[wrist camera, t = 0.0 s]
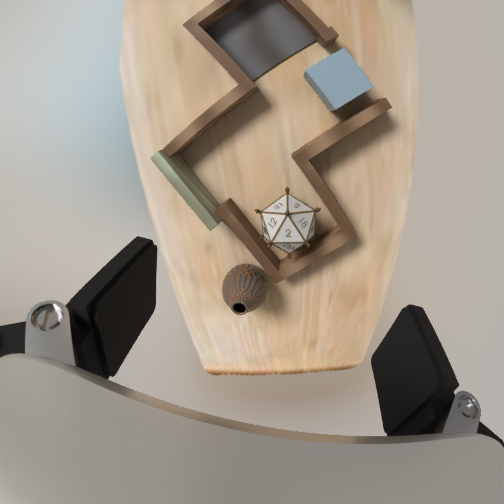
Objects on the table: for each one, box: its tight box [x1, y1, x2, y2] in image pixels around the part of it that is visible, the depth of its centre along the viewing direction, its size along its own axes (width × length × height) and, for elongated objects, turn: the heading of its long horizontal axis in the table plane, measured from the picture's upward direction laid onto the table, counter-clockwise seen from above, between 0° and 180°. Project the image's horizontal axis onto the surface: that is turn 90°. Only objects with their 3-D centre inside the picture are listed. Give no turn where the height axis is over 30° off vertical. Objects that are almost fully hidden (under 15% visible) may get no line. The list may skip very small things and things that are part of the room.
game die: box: [255, 187, 321, 260], centre depth 37 cm, size 9×8×10 cm
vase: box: [222, 264, 267, 315], centre depth 42 cm, size 7×7×9 cm
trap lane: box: [150, 0, 392, 284], centre depth 33 cm, size 30×38×5 cm
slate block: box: [304, 48, 374, 111], centre depth 29 cm, size 6×6×5 cm
